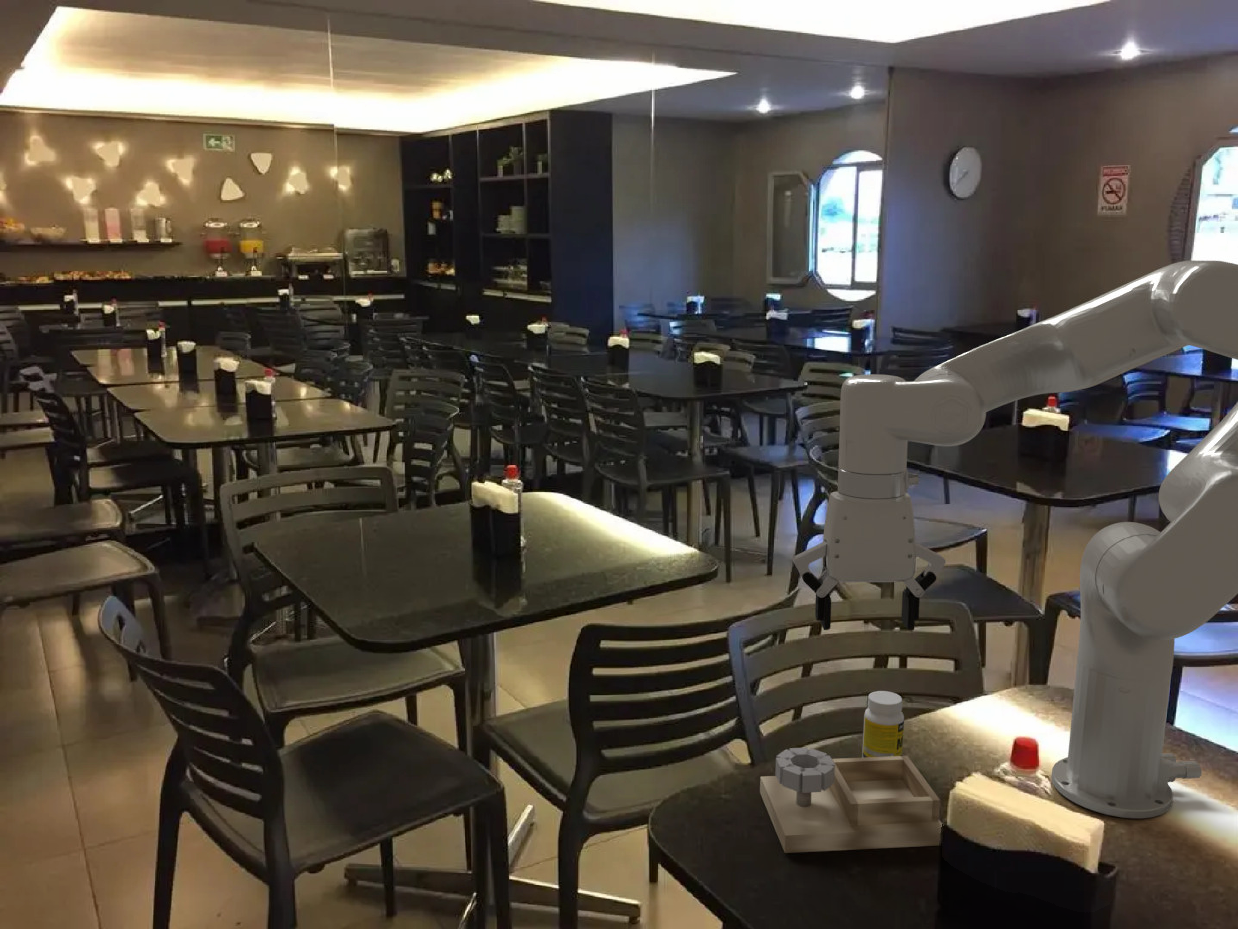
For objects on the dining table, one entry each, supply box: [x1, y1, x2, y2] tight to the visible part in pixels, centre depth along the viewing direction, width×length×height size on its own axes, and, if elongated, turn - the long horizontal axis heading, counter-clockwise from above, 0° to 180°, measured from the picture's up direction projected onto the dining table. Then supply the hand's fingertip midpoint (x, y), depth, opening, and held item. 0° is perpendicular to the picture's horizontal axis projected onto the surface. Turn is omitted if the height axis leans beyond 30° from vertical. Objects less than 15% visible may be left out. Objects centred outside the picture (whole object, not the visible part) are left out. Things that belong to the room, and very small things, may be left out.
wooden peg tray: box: [759, 755, 943, 854], centre depth 109 cm, size 17×12×6 cm
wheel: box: [774, 747, 835, 793], centre depth 108 cm, size 6×6×2 cm
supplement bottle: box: [861, 690, 905, 758], centre depth 121 cm, size 5×5×8 cm
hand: (866, 626), depth 116 cm, fingers open, 9 cm apart
